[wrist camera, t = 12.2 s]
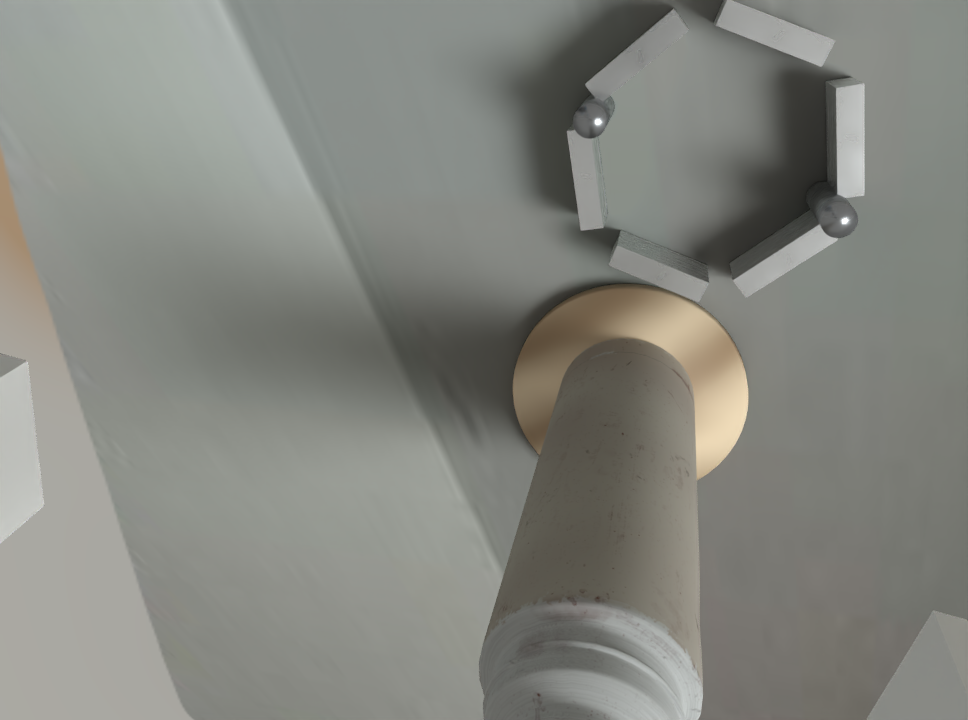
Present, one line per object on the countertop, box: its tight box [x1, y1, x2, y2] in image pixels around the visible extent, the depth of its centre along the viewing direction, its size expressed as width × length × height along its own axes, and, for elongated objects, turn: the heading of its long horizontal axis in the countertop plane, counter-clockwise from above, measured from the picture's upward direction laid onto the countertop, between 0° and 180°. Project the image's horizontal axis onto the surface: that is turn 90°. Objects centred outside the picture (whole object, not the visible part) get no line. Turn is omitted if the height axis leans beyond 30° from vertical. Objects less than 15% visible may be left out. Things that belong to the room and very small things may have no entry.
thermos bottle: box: [479, 338, 703, 720], centre depth 35 cm, size 8×8×28 cm
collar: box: [567, 0, 864, 302], centre depth 40 cm, size 14×15×5 cm
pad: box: [513, 284, 748, 480], centre depth 48 cm, size 14×14×1 cm
